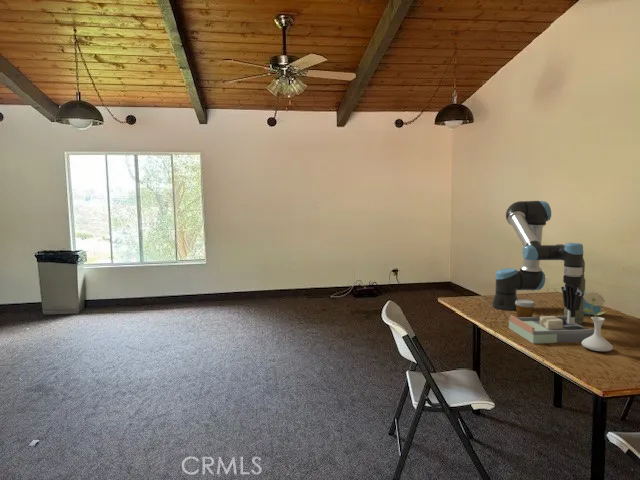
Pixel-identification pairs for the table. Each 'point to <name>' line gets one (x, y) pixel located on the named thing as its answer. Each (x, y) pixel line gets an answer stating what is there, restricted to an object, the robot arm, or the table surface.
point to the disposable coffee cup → (524, 307)
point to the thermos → (580, 313)
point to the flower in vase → (596, 325)
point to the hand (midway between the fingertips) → (570, 322)
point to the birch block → (551, 322)
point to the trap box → (548, 330)
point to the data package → (595, 308)
